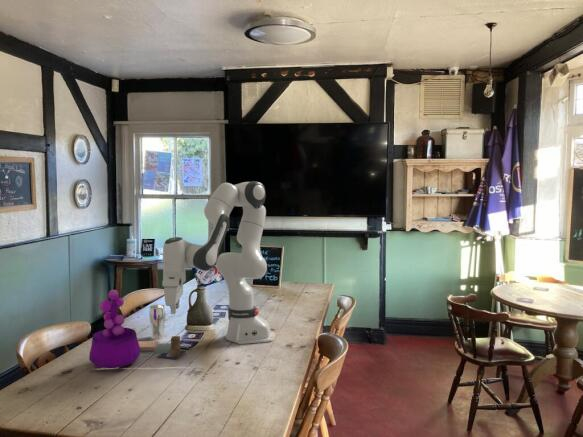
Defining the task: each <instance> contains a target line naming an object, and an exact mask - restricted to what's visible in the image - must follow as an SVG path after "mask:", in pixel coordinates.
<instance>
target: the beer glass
mask: <svg viewBox="0 0 583 437" xmlns="http://www.w3.org/2000/svg"><path fill="white" fill-rule="evenodd" d="M148 314H149V315H148V316H149V324H150V329H151V336H150V339H151V340H153V341H159V340H162V339H164V338H165V337H166V336H165V332H164V330H165V321H166V306H165V305H164V304H153V305H150V306H149V313H148Z"/></svg>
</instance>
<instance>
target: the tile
mask: <svg viewBox="0 0 583 437" xmlns="http://www.w3.org/2000/svg"><path fill="white" fill-rule="evenodd" d="M138 343H139V346H140V351H155V349H156V347H157V346H158V344H159V340H152V341H151V340H150V341H149V340H148V341H146V340H145V341H143V340H142V341H141V340H140V341H139V340H138Z"/></svg>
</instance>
